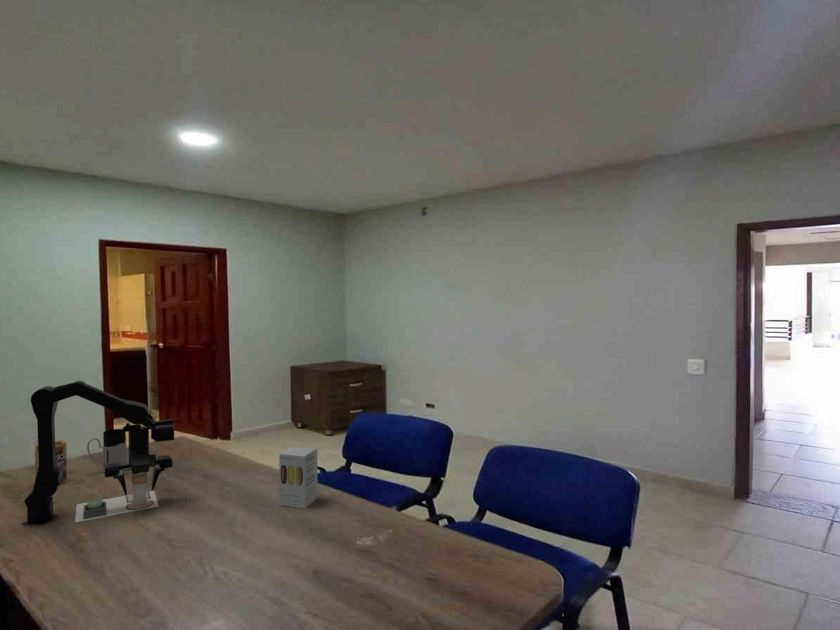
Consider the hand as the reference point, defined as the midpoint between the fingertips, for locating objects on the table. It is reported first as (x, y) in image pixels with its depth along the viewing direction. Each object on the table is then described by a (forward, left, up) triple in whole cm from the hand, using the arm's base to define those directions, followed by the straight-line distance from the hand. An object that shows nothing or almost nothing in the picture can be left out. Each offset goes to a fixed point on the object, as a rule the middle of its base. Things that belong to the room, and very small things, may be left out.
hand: (139, 492), depth 162 cm
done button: (-6, +10, -2) cm, 12 cm away
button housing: (-6, +10, -4) cm, 13 cm away
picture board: (0, +7, -4) cm, 8 cm away
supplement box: (+1, -50, -5) cm, 50 cm away
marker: (0, 0, -4) cm, 4 cm away
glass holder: (+36, +30, -5) cm, 47 cm away
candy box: (+22, +42, -5) cm, 48 cm away
